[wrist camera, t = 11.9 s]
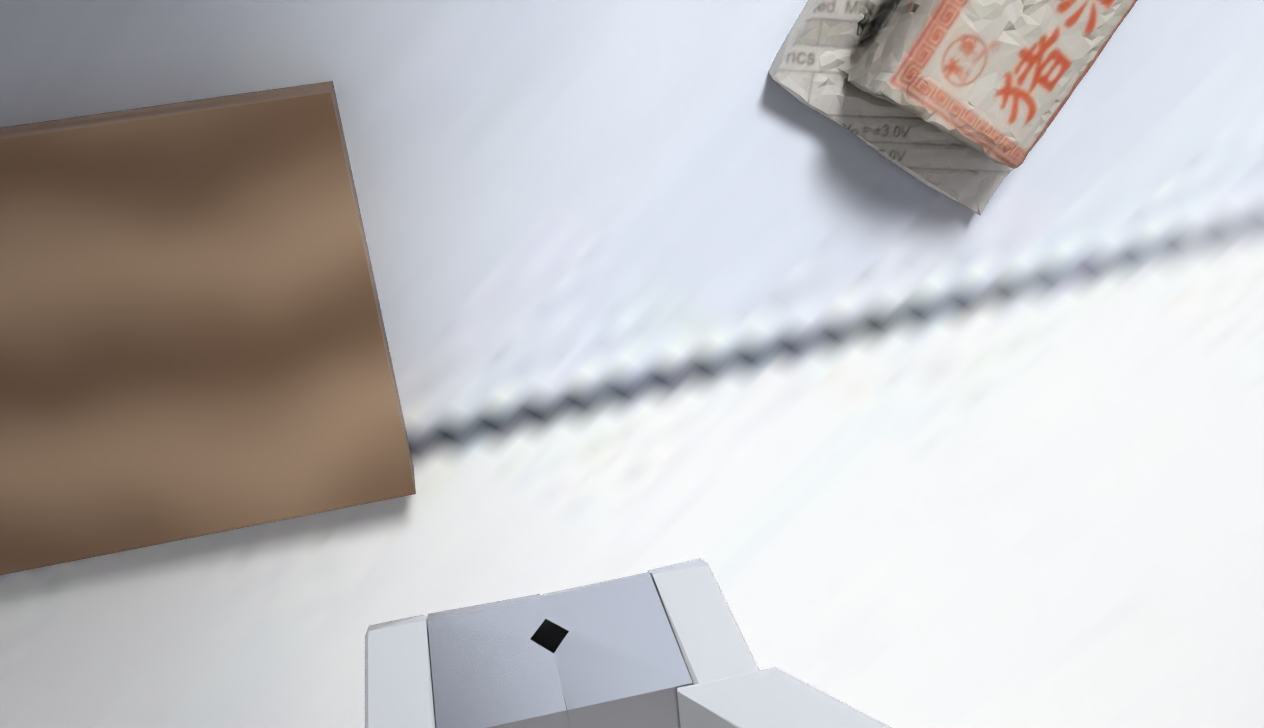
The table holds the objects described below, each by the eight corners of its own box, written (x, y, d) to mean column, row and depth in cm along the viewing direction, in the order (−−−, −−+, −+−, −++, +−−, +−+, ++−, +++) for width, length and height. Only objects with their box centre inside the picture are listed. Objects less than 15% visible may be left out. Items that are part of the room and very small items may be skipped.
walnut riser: (-219, 158, 34) (-251, 175, 32) (332, 81, 36) (330, 92, 34) (-52, 556, 40) (-72, 589, 38) (413, 466, 42) (415, 493, 40)
